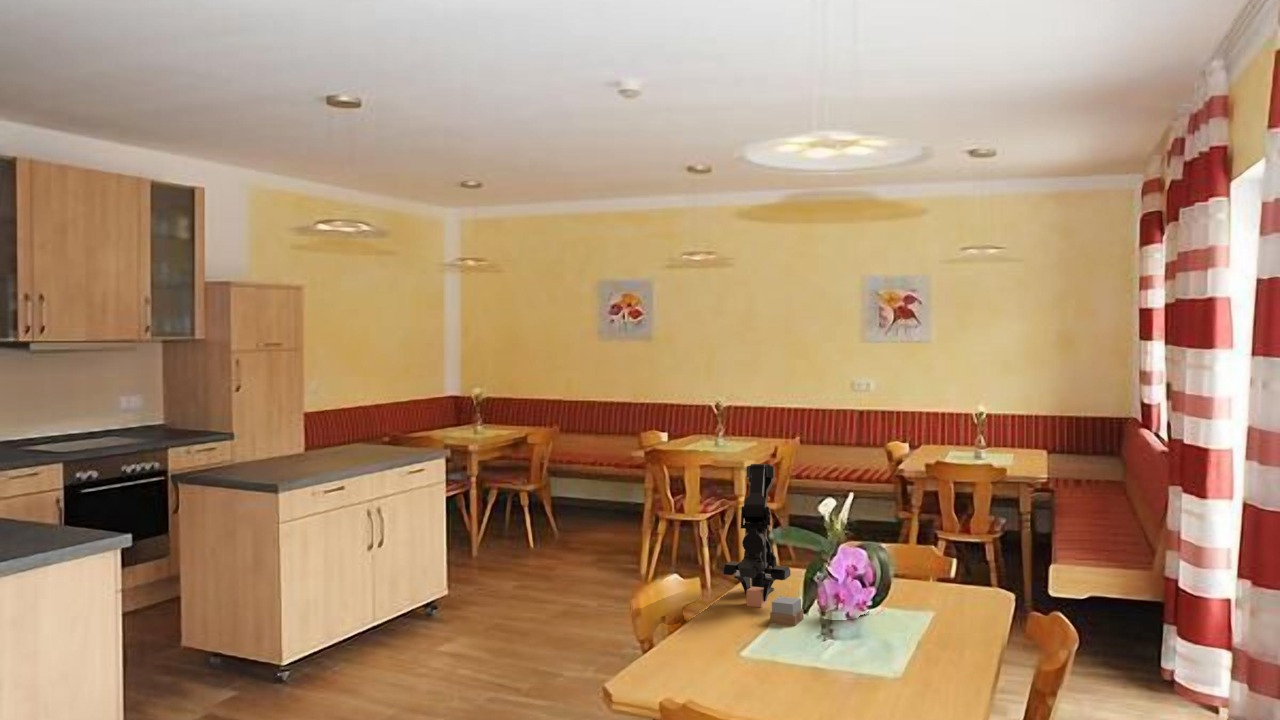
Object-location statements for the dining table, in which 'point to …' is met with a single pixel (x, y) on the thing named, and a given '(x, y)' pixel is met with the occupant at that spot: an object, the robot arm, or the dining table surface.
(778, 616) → the walnut block
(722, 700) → the dining table surface
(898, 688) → the dining table surface
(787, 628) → the dining table surface
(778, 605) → the slate block
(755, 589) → the terracotta cube
